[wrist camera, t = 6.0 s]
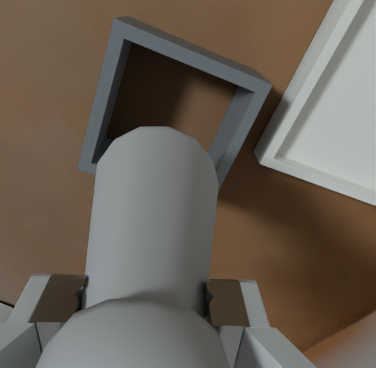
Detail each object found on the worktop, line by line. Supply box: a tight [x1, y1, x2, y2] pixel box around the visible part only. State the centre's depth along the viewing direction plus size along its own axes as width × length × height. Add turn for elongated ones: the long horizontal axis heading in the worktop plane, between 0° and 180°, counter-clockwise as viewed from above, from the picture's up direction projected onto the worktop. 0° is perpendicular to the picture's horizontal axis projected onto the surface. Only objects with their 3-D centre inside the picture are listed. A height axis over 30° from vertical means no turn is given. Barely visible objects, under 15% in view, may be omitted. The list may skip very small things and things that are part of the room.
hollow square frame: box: [78, 16, 272, 191], centre depth 23 cm, size 10×10×5 cm
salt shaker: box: [36, 126, 230, 368], centre depth 11 cm, size 6×6×13 cm
